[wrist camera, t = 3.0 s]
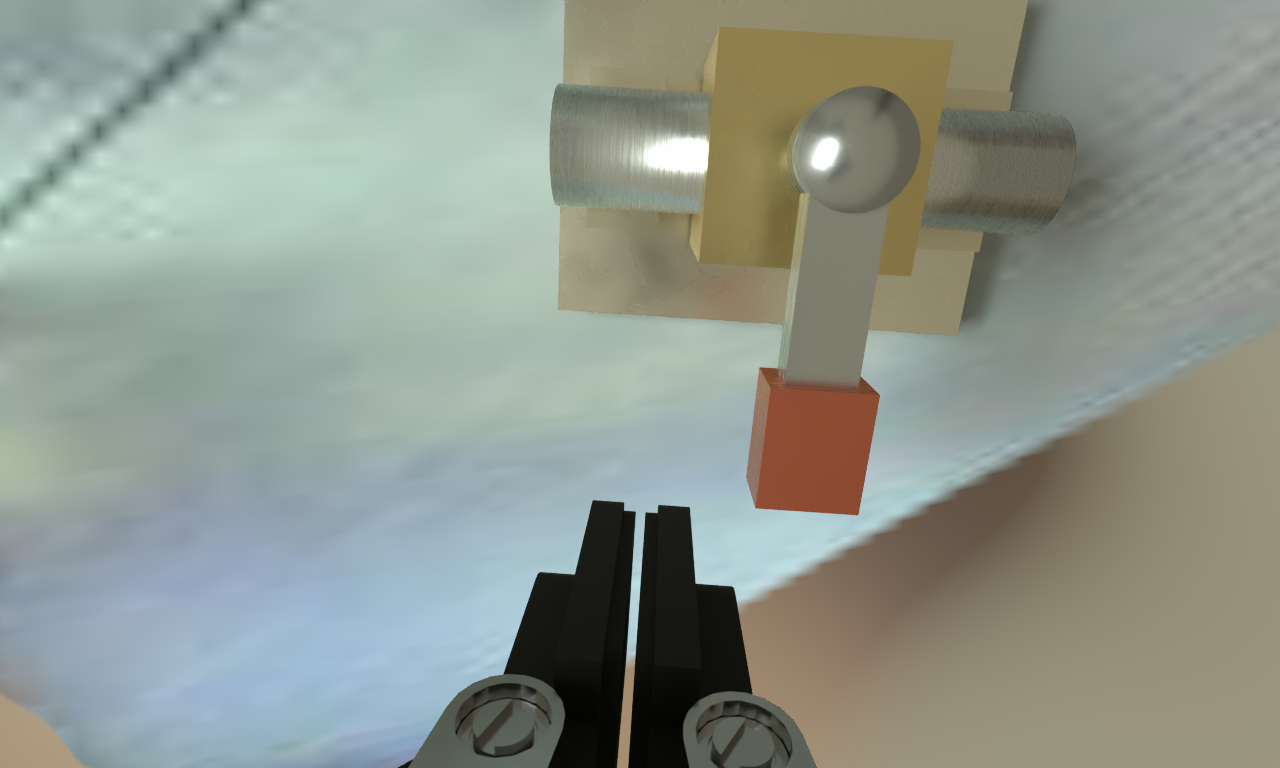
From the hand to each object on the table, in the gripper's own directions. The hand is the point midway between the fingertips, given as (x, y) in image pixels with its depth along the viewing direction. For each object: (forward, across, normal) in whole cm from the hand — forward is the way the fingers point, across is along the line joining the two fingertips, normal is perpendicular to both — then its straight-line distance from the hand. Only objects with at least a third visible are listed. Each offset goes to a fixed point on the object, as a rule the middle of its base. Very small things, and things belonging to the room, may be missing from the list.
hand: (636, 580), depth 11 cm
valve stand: (+17, -4, -8) cm, 19 cm away
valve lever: (+7, -4, -4) cm, 9 cm away
